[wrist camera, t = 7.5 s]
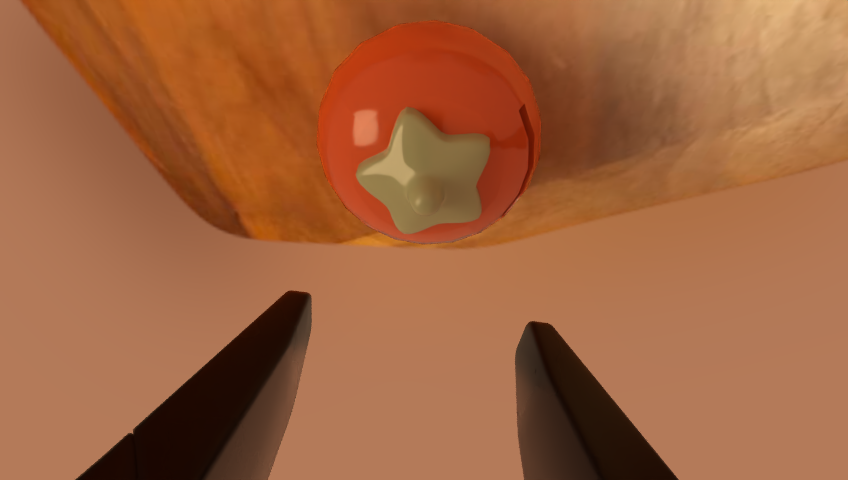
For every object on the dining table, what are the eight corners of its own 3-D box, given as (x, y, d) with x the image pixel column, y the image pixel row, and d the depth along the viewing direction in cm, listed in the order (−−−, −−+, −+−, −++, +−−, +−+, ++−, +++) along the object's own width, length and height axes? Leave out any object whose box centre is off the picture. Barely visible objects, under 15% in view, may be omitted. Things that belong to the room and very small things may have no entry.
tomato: (508, 186, 21) (539, 316, 14) (344, 177, 21) (300, 303, 14) (541, 4, 16) (606, 72, 10) (332, -7, 16) (258, 53, 10)
